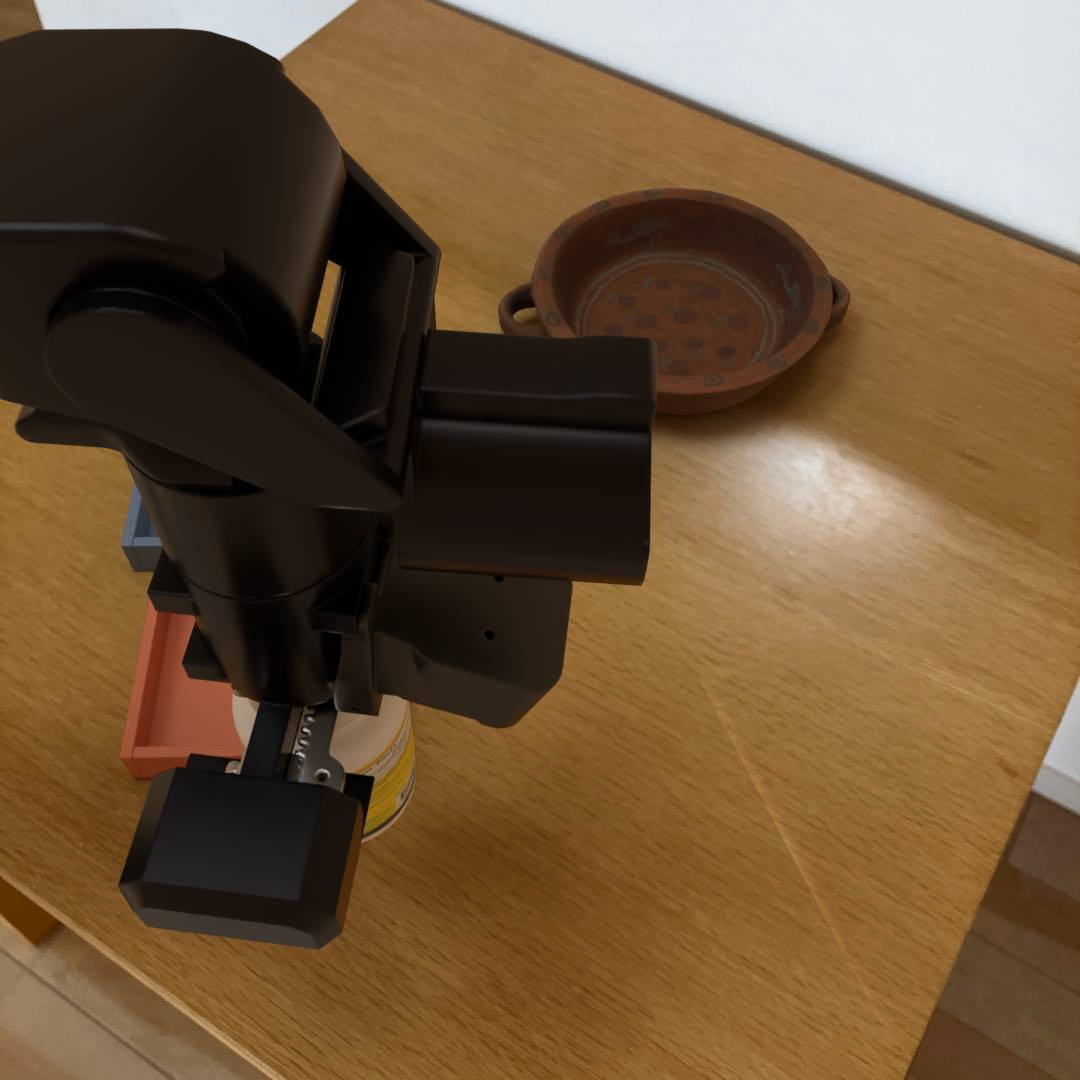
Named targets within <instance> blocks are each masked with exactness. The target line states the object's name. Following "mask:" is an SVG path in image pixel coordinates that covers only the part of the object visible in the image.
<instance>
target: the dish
mask: <svg viewBox="0 0 1080 1080" xmlns="http://www.w3.org/2000/svg"><path fill="white" fill-rule="evenodd" d="M530 278H531V279H530V280H531V281H528V282H526V283H523V284H520V285H518V286H515V287H514V288H513V289H511V290H510V291H508V292H506V294H505V295H504V296H503V297H502V298H501V300H500V302H499V305H498V308H497V315H498V319H499V320H498V324H499V327H500V329H501V332H502V334H512V335H527V336H541V337H556V338H573V337H582V336H591V335H618V336H633V337H648V338H650V339H651V340H653V341H654V342H655V343H656V344H657V399H656V411H655V414H658V415H659V414H660V415H661V414H662V415H670V416H693V415H703V414H704V415H705V414H711V413H715V412H718V411H722V410H726V409H729V408H732V407H735V406H737V405H739V404H741V403H743V402H745V401H747V400H749V399H751V398H753V397H754V396H756V395H758V394H759V393H761V392H762V391H763V390H764V389H766V388H767V387H768V386H770V385H771V384H772V383H773V382H775V381H776V380H777V379H778V378H779V377H780V376H781V375H782V374H783V373H784V372H785V371H787V370H789V369H790V368H792V367H793V366H795V364H797V363H798V362H799V361H801V360H803V359H804V357H805V356H807V355H808V353H810V351H811V350H812V349H813V348H814V347H815V346H816V344H817V343H818V341H819V340H820V338H821V337H822V335H823V334H824V333H827V332H829V331H832V330H834V329H835V328H837V327H838V326H839V325H840V324H841V323H843V321H844V319H845V317H846V314H847V312H848V309H849V306H850V302H851V293H850V291H849V289H848V288H847V286H846V285H845V284H844V282H842V281H841V280H840V279H839V278H837V277H835V276H834V275H832V274H831V273H829V270H828V268H827V266H826V264H825V263H824V261H823V260H822V259H821V257H820V256H819V254H818V253H817V252H816V251H815V250H814V248H813V247H811V245H810V244H809V243H808V242H807V241H806V240H805V238H803V236H802V235H800V234H799V232H797V231H796V230H795V229H794V228H793V227H792V226H790V225H789V224H788V223H786V222H785V221H784V220H783V219H781V218H780V217H779V216H777V215H775V214H774V213H773V212H771V211H768V210H765V209H763V208H761V207H760V206H757V205H755V204H753V203H750V202H748V201H746V200H743V199H741V198H738V197H736V196H732V195H728V194H725V193H721V192H719V191H713V190H708V189H699V188H683V187H660V188H650V189H649V188H648V189H641V190H640V189H639V190H633V191H629V192H624V193H620V194H616V195H613V196H610V197H606V198H603V199H600V200H598V201H596V202H593V203H591V204H589V205H588V206H586V207H584V208H582V209H580V210H578V211H576V212H575V213H573V214H572V215H570V216H569V217H567V218H566V219H564V220H563V221H562V222H561V223H560V224H559V225H558V226H557V227H556V228H555V229H553V231H552V232H551V233H550V234H549V235H548V236H547V238H546V240H545V241H544V242H543V244H542V246H541V247H540V250H539V252H538V254H537V257H536V260H535V263H534V267H533V270H532V271H531V277H530ZM534 308H535V312H536V315H537V316H538V318H539V320H540V322H541V323H542V326H541V327H538V328H537V327H536V328H535V327H529V326H526V325H524V324H522V323H521V322H518V321H517V320H516V319H515V317H514V315H515V314H517V313H518V312H519V311H522V310H525V309H534Z"/></svg>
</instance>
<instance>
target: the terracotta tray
mask: <svg viewBox="0 0 1080 1080" xmlns="http://www.w3.org/2000/svg"><path fill="white" fill-rule="evenodd" d="M194 623H195V618H194V616H191V615H183V614H175V613H167V612H158V611H155V608H154V606H153V604H152V602H151V600H150V598H149V597H148V602H147V607H146V613H145V618H144V624H143V629H142V635H141V639H140V645H139V651H138V655H137V656H138V657H137V662H136V667H135V671H134V677H133V683H132V689H131V694H130V699H129V704H128V710H127V715H126V721H125V725H124V731H123V736H122V742H121V747H120V753H119V759H120V761H121V762H122V764H123V765H124V767H125V768H126V769H127V771H128V772H129V774H130V775H131V777H132V778H133V779H149V778H150V779H153V776H154V774H157V773H160V772H163V771H165V770H168V769H171V768H174V767H177V766H178V767H186V763H187V760H188V757H189V754H190V753H195V754H203V755H211V756H219V757H227V758H235V759H242V756H243V752H244V747H243V745H242V743H241V740H240V738H239V736H238V733H237V731H236V729H235V724H234V718H233V711H232V699H233V691H232V689H231V684H230V683H222V682H214V681H206V680H198V679H190V678H188V676H187V674H186V672H185V670H184V668H183V666H182V660H183V657H184V654H185V651H186V648H187V645H188V642H189V639H190V635H191V632H192V629H193V626H194Z"/></svg>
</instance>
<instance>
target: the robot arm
mask: <svg viewBox="0 0 1080 1080" xmlns="http://www.w3.org/2000/svg"><path fill="white" fill-rule="evenodd" d="M441 258H442V250H441V247H440V246H439V245H438V243H436V242H435V240H433V238H431V236H429V235H428V234H427V232H426V231H425V230H424V229H423V228H422V227H421V226H420V225H419V224H418V223H417V222H416V221H415V220H414V219H413V218H412V217H411V216H410V215H409V214H408V213H407V212H406V211H405V210H404V209H403V208H402V207H401V206H400V205H399V204H398V203H397V201H396V200H395V199H393V198H392V197H391V196H390V195H389V193H387V192H386V190H384V188H383V187H382V186H381V185H380V184H379V183H378V182H377V181H376V180H375V179H374V178H373V177H372V176H371V175H370V174H369V173H368V172H367V171H366V170H365V169H364V168H363V167H362V166H361V165H360V164H359V163H358V161H356V160H355V159H354V158H353V156H351V155H350V154H349V153H348V152H347V151H346V150H345V149H344V148H343V146H342V145H341V143H340V141H339V139H338V137H337V136H336V134H335V132H334V131H333V129H332V127H331V125H330V124H329V122H328V120H327V118H326V117H325V115H324V113H323V112H322V109H320V107H319V105H317V104H316V103H315V102H314V101H313V100H312V99H311V98H310V97H309V96H308V95H307V94H306V93H305V92H303V90H302V89H301V88H300V87H298V86H297V84H296V83H294V82H293V80H291V79H290V78H289V76H287V75H286V68H285V66H284V64H283V63H282V62H281V61H280V60H279V59H278V58H277V57H275V56H273V55H271V54H269V53H268V52H266V51H264V50H262V49H261V48H258V47H256V46H255V45H253V44H250V43H249V42H246V41H243V40H240V39H237V38H234V37H230V36H227V35H224V34H220V33H217V32H214V31H211V30H204V29H193V28H179V27H170V28H168V27H166V28H165V27H161V28H159V27H158V28H154V27H152V28H150V27H149V28H145V27H144V28H48V29H47V28H46V29H45V28H44V29H37V30H34V31H29V32H25V33H23V34H19V35H15V36H12V37H9V38H5V39H2V40H0V400H2V401H5V402H8V403H13V404H16V405H21V407H20V409H19V412H18V414H17V417H16V419H15V421H14V427H13V428H14V431H15V433H16V435H18V436H19V438H21V439H22V440H23V441H26V442H29V443H32V444H42V445H43V444H44V445H56V446H57V445H58V446H73V447H87V448H88V447H89V448H99V449H100V448H101V449H109V450H113V451H115V452H118V453H119V454H122V457H123V459H124V461H125V464H126V466H127V468H128V470H129V472H130V475H131V477H132V479H133V483H134V482H135V484H136V486H137V489H138V491H139V493H140V495H141V498H142V500H143V502H144V505H145V507H146V509H147V511H148V514H149V516H150V518H151V520H152V523H153V525H154V527H155V530H156V532H157V534H158V536H159V539H160V541H161V543H162V545H163V549H162V552H161V555H160V557H159V560H158V563H157V566H156V568H155V571H153V573H152V574H153V575H152V577H151V580H150V582H149V585H148V588H147V590H146V594H147V596H148V599H149V598H150V600H151V602H152V604H153V606H154V608H155V611H158V612H167V613H175V614H183V615H191V616H194V618H195V623H194V626H193V629H192V632H191V635H190V639H189V642H188V645H187V648H186V651H185V654H184V657H183V660H182V666H183V668H184V670H185V672H186V674H187V676H188V678H190V679H198V680H206V681H214V682H222V683H230V684H231V689H232V691H233V693H234V694H235V695H236V696H238V697H244V698H249V699H251V700H253V701H255V702H258V703H260V704H259V707H258V711H257V714H256V718H255V722H254V725H253V729H252V732H251V736H250V739H249V743H248V746H247V748H246V747H245V749H244V752H243V756H242V759H235V758H227V757H219V756H211V755H203V754H195V753H190V754H189V757H188V760H187V763H186V767H178V766H177V767H174V768H171V769H168V770H165V771H163V772H160V773H157V774H154V776H153V778H151V782H150V785H149V789H148V791H147V795H146V798H145V800H144V804H143V807H142V809H141V813H140V816H139V819H138V821H137V825H136V828H135V830H134V831H135V832H134V835H133V838H132V841H131V844H130V847H129V850H128V853H127V856H126V859H125V862H124V865H123V869H122V871H121V875H120V877H119V881H118V883H117V888H118V889H119V891H120V893H121V894H122V896H123V897H124V899H125V901H126V902H127V904H128V905H129V907H130V909H131V910H132V912H133V913H134V914H135V915H136V917H138V918H139V920H140V921H141V922H142V923H143V924H144V925H145V926H146V927H147V928H153V929H160V930H165V931H166V930H167V931H174V932H175V931H176V932H182V933H189V934H197V935H198V934H199V935H204V936H212V937H218V938H219V937H220V938H226V939H227V938H228V939H233V940H234V939H236V940H242V941H250V942H256V943H264V944H273V945H280V946H287V947H294V948H301V949H309V950H318V951H320V950H321V949H323V948H324V947H325V946H327V945H328V944H329V943H331V942H332V941H333V940H335V939H336V938H338V937H339V936H340V935H342V934H343V932H344V927H345V924H346V918H347V913H348V909H349V905H350V900H351V895H352V891H353V886H354V881H355V876H356V871H357V867H358V862H359V858H360V852H361V848H362V843H361V841H362V836H363V832H364V827H365V822H366V818H367V813H368V808H369V803H370V799H371V794H372V789H373V785H374V780H375V777H374V776H369V775H361V774H353V773H345V771H344V768H343V766H342V764H341V763H340V762H339V761H338V760H337V759H335V758H334V757H333V756H331V755H330V752H331V747H332V743H333V739H334V735H335V731H336V726H337V722H338V718H339V714H340V712H345V713H354V714H362V715H370V716H379V712H380V707H381V703H382V698H383V695H392V696H398V697H400V698H402V699H404V700H407V701H409V703H414V704H417V705H421V706H424V707H428V708H432V709H434V710H438V711H441V712H445V713H449V714H453V715H456V716H460V717H464V718H466V719H471V720H473V721H476V722H477V723H479V724H480V725H482V726H485V727H489V728H493V729H499V730H501V729H508V728H512V727H513V726H515V725H517V724H518V723H519V722H520V721H521V720H522V719H524V717H525V716H526V715H527V714H528V713H529V712H530V711H531V710H532V709H534V707H535V706H536V705H537V704H538V703H539V702H540V701H541V700H542V699H543V698H544V697H545V696H546V695H547V694H548V693H549V692H550V691H551V690H552V689H553V688H554V687H555V686H556V685H557V684H558V682H559V681H560V679H561V677H562V675H563V670H564V665H565V664H564V663H565V657H566V656H565V655H566V648H567V647H566V646H567V640H568V631H569V623H570V622H569V621H570V613H571V607H572V598H573V591H574V590H573V588H574V584H573V582H575V583H576V582H577V583H589V584H590V583H591V584H606V585H620V586H634V587H642V585H643V584H644V582H645V579H646V574H647V570H648V565H649V559H650V554H651V553H650V551H651V519H652V518H651V515H652V514H651V513H652V512H651V511H652V510H651V509H652V506H651V505H652V500H651V499H652V446H653V445H652V444H653V443H652V442H653V440H652V437H653V436H652V435H653V427H654V423H655V422H654V421H655V416H656V413H655V411H656V399H657V344H656V343H655V342H654V341H653V340H651V339H650V338H648V337H633V336H618V335H591V336H582V337H573V338H556V337H541V336H527V335H512V334H504V333H495V332H481V331H467V330H452V329H451V330H450V329H437V314H436V300H435V299H436V297H435V296H436V290H437V285H438V284H437V283H438V278H439V273H440V271H439V270H440V265H441V260H442V259H441ZM329 261H330V262H332V263H333V264H335V265H337V266H338V267H339V268H338V272H337V277H336V282H335V285H334V290H333V294H332V299H331V303H330V307H329V308H330V309H329V312H328V315H327V321H326V325H325V330H324V334H323V337H322V336H320V335H319V334H318V333H316V332H314V331H313V326H314V323H315V319H316V316H317V315H316V314H317V310H318V307H319V301H320V297H321V294H322V289H323V285H324V282H325V281H324V280H325V277H326V273H327V268H328V265H329ZM304 707H307V710H308V711H310V712H312V713H311V714H306V715H304V721H305V722H306V723H308V724H310V725H306V726H301V729H300V730H301V733H302V734H304V735H306V736H307V737H302V738H298V744H299V746H301V747H303V749H298V750H295V753H293V750H294V746H295V742H296V738H297V734H298V731H299V727H300V723H301V719H302V715H303V711H304Z"/></svg>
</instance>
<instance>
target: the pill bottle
mask: <svg viewBox="0 0 1080 1080" xmlns="http://www.w3.org/2000/svg"><path fill="white" fill-rule="evenodd" d="M259 704H260V703H258V702H255V701H253V700H251V699H249V698H244V697H238V696H236V695H235V694H234V693H233V699H232V711H233V718H234V724H235V729H236V731H237V733H238V736H239V738H240V740H241V743H242V745H243V747H244V749H245V747H246V748H247V746H248V743H249V739H250V736H251V732H252V729H253V725H254V722H255V718H256V714H257V711H258V707H259ZM410 705H411V704H410V701H407V700H404V699H402V698H400V697H398V696H392V695H383V698H382V703H381V707H380V712H379V716H370V715H362V714H354V713H345V712H340V714H339V718H338V722H337V726H336V731H335V735H334V739H333V743H332V747H331V752H330V755H331V756H333V757H334V758H335V759H337V760H338V761H339V762H340V763H341V764H342V766H343V768H344V771H345V773H353V774H361V775H369V776H374V777H375V780H374V785H373V789H372V794H371V799H370V803H369V808H368V813H367V818H366V822H365V827H364V832H363V836H362V841H361V844H362V843H365V842H368V841H370V840H372V839H375V838H376V837H378V836H379V835H381V834H382V833H384V832H386V831H387V830H388V829H389V828H390V827H391V826H392V825H393V824H395V822H396V821H397V820H399V818H400V817H401V816H402V814H403V813H404V811H405V810H406V808H407V806H408V804H409V802H410V800H411V798H412V795H413V792H414V790H415V785H416V777H417V756H416V747H415V740H414V730H413V724H412V714H411V706H410ZM311 713H312V712H310V711H308V710H307V707H304V711H303V715H302V719H301V723H300V727H299V731H298V734H297V738H296V742H295V746H294V750H293V753H295V750H298V749H303V747H301V746H299V744H298V738H302V737H307V736H306V735H304V734H302V733H301V730H300V729H301V726H306V725H310V724H308V723H306V722H305V721H304V715H306V714H311Z"/></svg>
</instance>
